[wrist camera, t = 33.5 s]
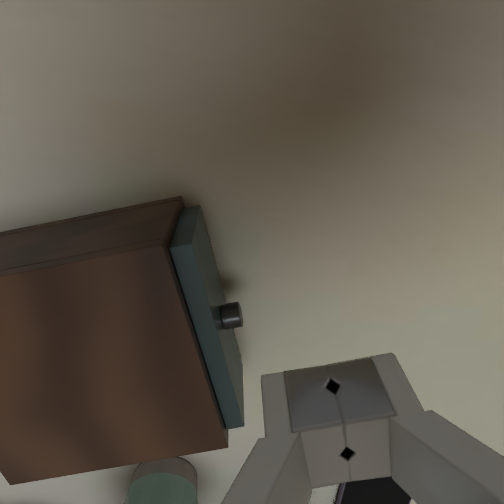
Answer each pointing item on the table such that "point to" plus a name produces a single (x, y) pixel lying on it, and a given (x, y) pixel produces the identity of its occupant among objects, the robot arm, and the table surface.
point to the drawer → (209, 312)
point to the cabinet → (99, 347)
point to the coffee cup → (163, 483)
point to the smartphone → (372, 492)
